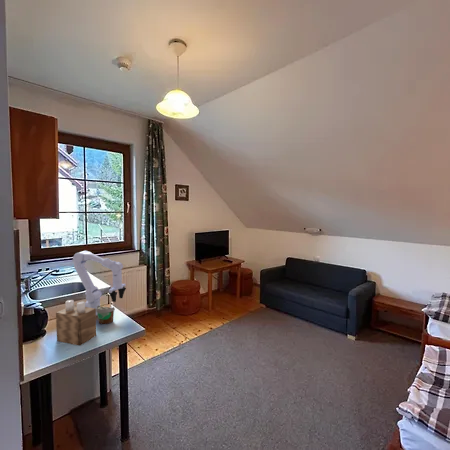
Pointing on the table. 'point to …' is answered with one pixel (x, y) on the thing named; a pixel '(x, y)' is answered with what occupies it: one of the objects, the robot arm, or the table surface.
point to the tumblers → (79, 306)
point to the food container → (105, 314)
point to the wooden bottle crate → (76, 326)
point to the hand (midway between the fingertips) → (117, 299)
